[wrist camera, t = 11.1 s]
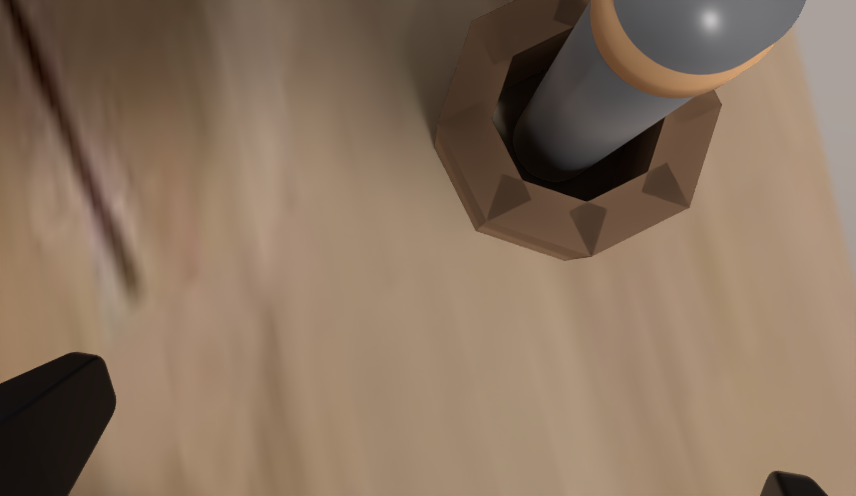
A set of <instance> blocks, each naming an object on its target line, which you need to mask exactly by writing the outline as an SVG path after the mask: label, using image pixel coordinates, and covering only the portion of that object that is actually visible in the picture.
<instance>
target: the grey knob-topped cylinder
mask: <svg viewBox="0 0 856 496" xmlns="http://www.w3.org/2000/svg"><path fill="white" fill-rule="evenodd" d="M805 1H806V0H591V1H590V2H589V4H588V6H587V7H586V9H585V11H584V12H583V14H582V15H581V17H580V19H579V20H578V22H577V24H576V25H575V27H574V29H573V30H572V32H571V34H570V35H569V37H568V39H567V40H566V42H565V44H564V45H563V47H562V49H561V50H560V52H559V53H558V55H557V57H556V58H555V60H554V62H553V63H552V65H551V67H550V68H549V70H548V72H547V73H546V75H545V77H544V78H543V80H542V82H541V83H540V85H539V86H538V88H537V90H536V91H535V93H534V95H533V96H532V98H531V100H530V101H529V103H528V105H527V106H526V108H525V110H524V111H523V113H522V115H521V116H520V118H519V120H518V122H517V124H516V126H515V130H514V136H513V144H514V150H515V153H516V156H517V158H518V160H519V161H520V163H521V164H522V166H523V167H524V168H525V169H526V170H527V171H528V172H529V173H531V174H532V175H534V176H536V177H537V178H540V179H542V180H546V181H553V182H558V181H565V180H569V179H571V178H574V177H576V176H577V175H579V174H580V173H582V172H583V171H585V170H586V169H588V168H589V167H591V166H592V165H594V164H595V163H597V162H598V161H600V160H601V159H603V158H604V157H606V156H607V155H609V154H610V153H612V152H613V151H615V150H616V149H618V148H619V147H621V146H622V145H624V144H625V143H627V142H628V141H630V140H631V139H633V138H634V137H636V136H637V135H638V134H640V133H641V132H643V131H644V130H646V129H647V128H649V127H650V126H652V125H653V124H655V123H656V122H658V121H659V120H661V119H662V118H664V117H665V116H667V115H668V114H670V113H671V112H673V111H674V110H676V109H677V108H679V107H680V106H682V105H683V104H685V103H686V102H688V101H689V100H691V99H692V98H694V97H695V96H698V95H702V94H705V93H708V92H710V91H712V90H714V89H716V88H718V87H720V86H721V85H723V84H724V83H726V82H728V81H729V80H731V79H732V78H734V77H735V76H737V75H738V74H740V73H741V72H743V71H745V70H746V69H748V68H749V67H751V66H752V65H754V64H755V63H756V62H758V61H759V60H760V59H761V58H762V57H764V56H765V54H766V53H767V52H768V51H769V50H770V49H771V48H772V47H773V45H774V44H775V42H776V41H778V40H779V39H780V38H781V37H782V36H784V35H785V33H786V32H787V31H788V30H789V29H790V28H791V27H792V25H793V24H794V23H795V21H796V20H797V18H798V17H799V15H800V13H801V11H802V9H803V7H804V4H805Z"/></svg>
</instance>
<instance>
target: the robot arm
mask: <svg viewBox="0 0 856 496" xmlns="http://www.w3.org/2000/svg"><path fill="white" fill-rule="evenodd" d="M115 406H116V395H115V392H114V389H113V386H112V382H111V379H110V376H109V373H108V369H107V366H106V363H105V361H104V360H103V359H102V358H101V357H100V356H98V355H93V354H87V353H81V352H72V353H68V354H66V355H64V356H61V357H59V358H57V359H55V360H52V361H50V362H48V363H46V364H43V365H41V366H39V367H37V368H34V369H32V370H30V371H28V372H25V373H23V374H21V375H19V376H16V377H14V378H12V379H10V380H7V381H5V382H3V383H1V384H0V496H68V495H69V493H70V491H71V489H72V488H73V486H74V484H75V482H76V480H77V479H78V477H79V475H80V473H81V471H82V470H83V468H84V466H85V464H86V462H87V461H88V459H89V457H90V455H91V453H92V452H93V450H94V448H95V446H96V444H97V443H98V441H99V439H100V437H101V435H102V434H103V432H104V430H105V428H106V426H107V425H108V423H109V421H110V419H111V417H112V415H113V413H114V410H115ZM760 496H828V495H827V494H826V493H825V492H824V491H823V490H822V488H821V487H820V486H819V485H818V484H817V483H816V482H815V481H814V480H813V479H811V478H810V477H808V476H805V475H800V474H794V473H788V472H782V471H773V472H771V473H770V474H769V476H768V477H767V480H766V482H765V485H764V487H763V490H762V492H761V495H760Z"/></svg>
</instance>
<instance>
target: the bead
mask: <svg viewBox="0 0 856 496" xmlns="http://www.w3.org/2000/svg"><path fill="white" fill-rule="evenodd" d="M590 1H591V0H515V1H513V2H511V3H509V4H507V5H504V6H502V7H500V8H498V9H496V10H494V11H492V12H490V13H488V14H486V15H484V16H482V17H480V18H478V19H476V20H474V21H472V22H471V26H470V29H469V32H468V35H467V38H466V41H465V44H464V47H463V50H462V52H461V55H460V58H459V61H458V64H457V67H456V70H455V73H454V76H453V79H452V82H451V85H450V88H449V91H448V94H447V97H446V100H445V103H444V106H443V109H442V111H441V114H440V117H439V120H438V122H437V130H436V139H435V150H436V152H437V154H438V156H439V158H440V160H441V162H442V164H443V166H444V168H445V170H446V172H447V174H448V176H449V178H450V180H451V182H452V184H453V186H454V188H455V190H456V192H457V194H458V196H459V198H460V200H461V202H462V204H463V206H464V208H465V210H466V212H467V214H468V216H469V218H470V220H471V222H472V224H473V226H474V228H475V230H476V231H478V232H481V233H484V234H487V235H490V236H493V237H496V238H499V239H502V240H505V241H508V242H511V243H514V244H517V245H520V246H523V247H526V248H529V249H532V250H535V251H538V252H541V253H544V254H547V255H550V256H553V257H556V258H558V259H561V260H564V261H565V260H572V259H579V258H586V257H592V256H593V255H595V254H597V253H599V252H601V251H603V250H605V249H607V248H609V247H611V246H613V245H615V244H617V243H619V242H621V241H623V240H625V239H627V238H629V237H631V236H633V235H635V234H637V233H639V232H641V231H643V230H645V229H647V228H649V227H651V226H653V225H655V224H657V223H659V222H661V221H663V220H665V219H667V218H669V217H671V216H673V215H675V214H677V213H679V212H681V211H683V210H685V209H688V208H689V207H690V204H691V201H692V198H693V194H694V191H695V188H696V185H697V182H698V179H699V175H700V172H701V169H702V166H703V163H704V160H705V156H706V153H707V150H708V147H709V144H710V141H711V137H712V134H713V131H714V128H715V125H716V122H717V118H718V115H719V112H720V109H721V106H722V104H721V102H720V100H719V98H718V96H717V94H716V92H715V91H714V90H712V91H710V92H708V93H705V94H702V95H698V96H695V97H694V98H692V99H691V100H689V101H688V102H686V103H685V104H683V105H682V106H680V107H679V108H677V109H676V110H674V111H673V112H671V113H670V114H668V115H667V116H665V117H664V118H662V119H661V120H659V121H658V122H656V123H655V124H653V125H652V126H650V127H649V128H647V129H646V130H644V131H643V132H641V133H640V134H638V135H637V136H636V137H634V138H633V139H631V140H630V141H628V142H627V143H626V146H625V149H624V152H623V155H622V158H621V161H620V164H619V168H618V171H617V174H616V177H615V180H614V183H613V186H612V189H611V190H609V191H607V192H605V193H603V194H601V195H599V196H597V197H595V198H593V199H591V200H589V201H587V202H586V201H583V200H580V199H577V198H574V197H571V196H568V195H565V194H562V193H559V192H556V191H553V190H550V189H547V188H544V187H541V186H538V185H535V184H532V183H529V182H526V181H523V180H522V179H521V177H520V175H519V173H518V171H517V169H516V167H515V165H514V163H513V161H512V159H511V157H510V155H509V153H508V151H507V149H506V147H505V145H504V143H503V141H502V139H501V137H500V135H499V133H498V131H497V129H496V127H495V125H494V123H493V121H492V117H493V114H494V111H495V108H496V105H497V102H498V99H499V96H500V93H501V90H503V89H505V88H507V87H509V86H511V85H514V84H516V83H518V82H520V81H522V80H524V79H526V78H528V77H530V76H532V75H534V74H536V73H538V72H540V71H542V70H544V69H546V68H548V67H551V65H552V63H553V62H554V60H555V58H556V57H557V55H558V53H559V52H560V50H561V49H562V47H563V45H564V44H565V42H566V40H567V39H568V37H569V35H570V34H571V32H572V30H573V29H574V27H575V25H576V24H577V22H578V20H579V19H580V17H581V15H582V14H583V12H584V11H585V9H586V7H587V6H588V4H589V2H590Z"/></svg>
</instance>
